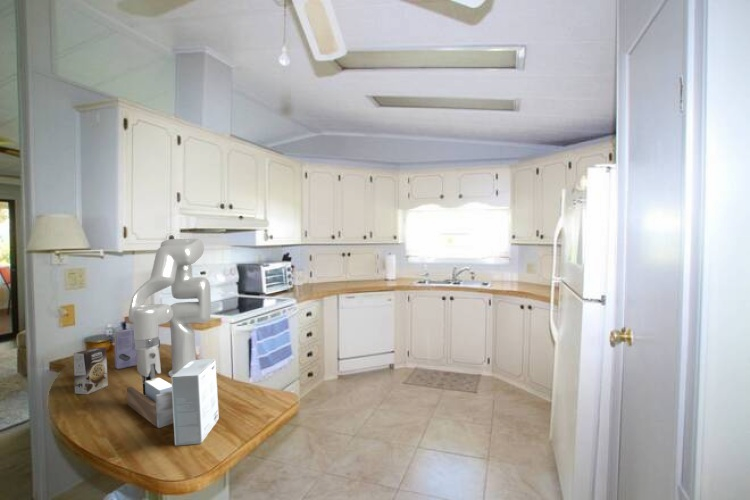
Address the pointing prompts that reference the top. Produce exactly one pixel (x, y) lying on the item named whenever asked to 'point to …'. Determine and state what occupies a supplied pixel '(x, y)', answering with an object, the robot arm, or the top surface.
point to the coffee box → (90, 370)
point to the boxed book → (156, 388)
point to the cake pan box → (125, 349)
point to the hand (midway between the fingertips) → (149, 393)
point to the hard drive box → (194, 401)
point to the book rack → (152, 407)
